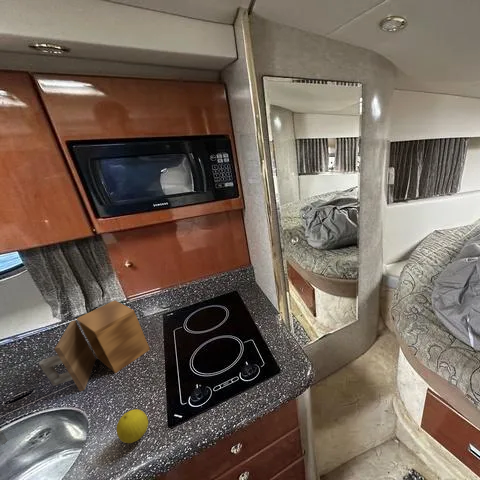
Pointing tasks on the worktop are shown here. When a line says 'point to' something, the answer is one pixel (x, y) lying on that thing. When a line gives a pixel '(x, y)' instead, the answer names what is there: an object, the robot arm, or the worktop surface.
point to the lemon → (132, 426)
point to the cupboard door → (71, 358)
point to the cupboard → (114, 335)
